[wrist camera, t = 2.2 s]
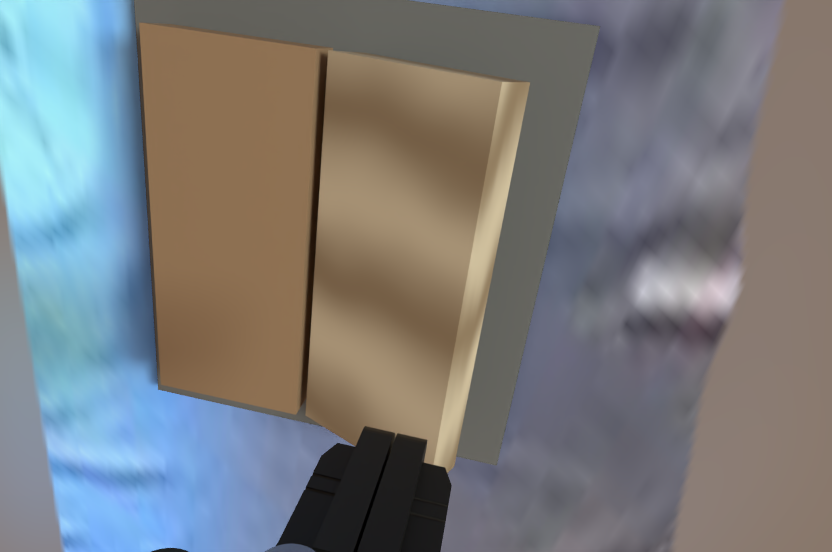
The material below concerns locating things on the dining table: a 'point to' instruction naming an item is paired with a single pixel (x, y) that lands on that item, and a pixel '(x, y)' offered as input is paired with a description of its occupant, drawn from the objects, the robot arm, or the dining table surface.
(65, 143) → the dining table surface
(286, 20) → the floor section
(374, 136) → the oak plank
